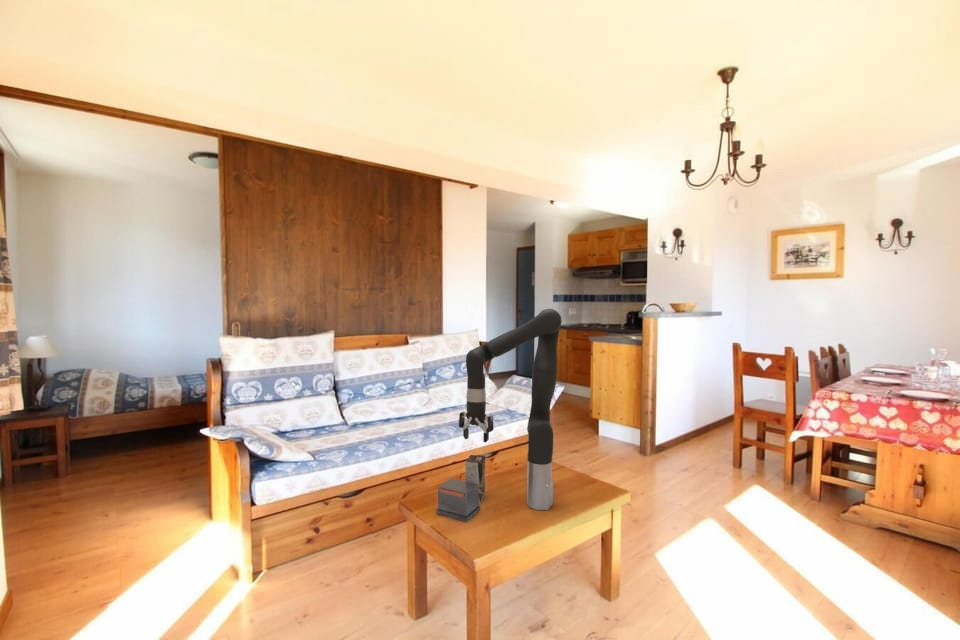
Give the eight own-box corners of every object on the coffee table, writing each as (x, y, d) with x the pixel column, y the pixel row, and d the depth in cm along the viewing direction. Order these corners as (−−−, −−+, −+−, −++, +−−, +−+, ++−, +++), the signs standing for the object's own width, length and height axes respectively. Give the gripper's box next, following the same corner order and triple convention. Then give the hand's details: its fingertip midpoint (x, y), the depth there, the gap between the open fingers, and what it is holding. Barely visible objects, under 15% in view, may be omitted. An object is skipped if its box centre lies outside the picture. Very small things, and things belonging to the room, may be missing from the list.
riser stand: (480, 510, 167) (480, 484, 167) (466, 522, 158) (467, 494, 158) (450, 503, 173) (450, 477, 173) (436, 513, 164) (436, 486, 164)
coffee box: (481, 504, 172) (481, 463, 172) (464, 503, 173) (465, 461, 173) (485, 494, 181) (485, 455, 180) (470, 493, 182) (470, 454, 182)
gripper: (496, 399, 176) (496, 440, 176) (465, 395, 182) (464, 435, 183) (487, 403, 169) (487, 445, 170) (455, 399, 176) (455, 440, 176)
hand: (475, 440), depth 176 cm, fingers open, 8 cm apart
